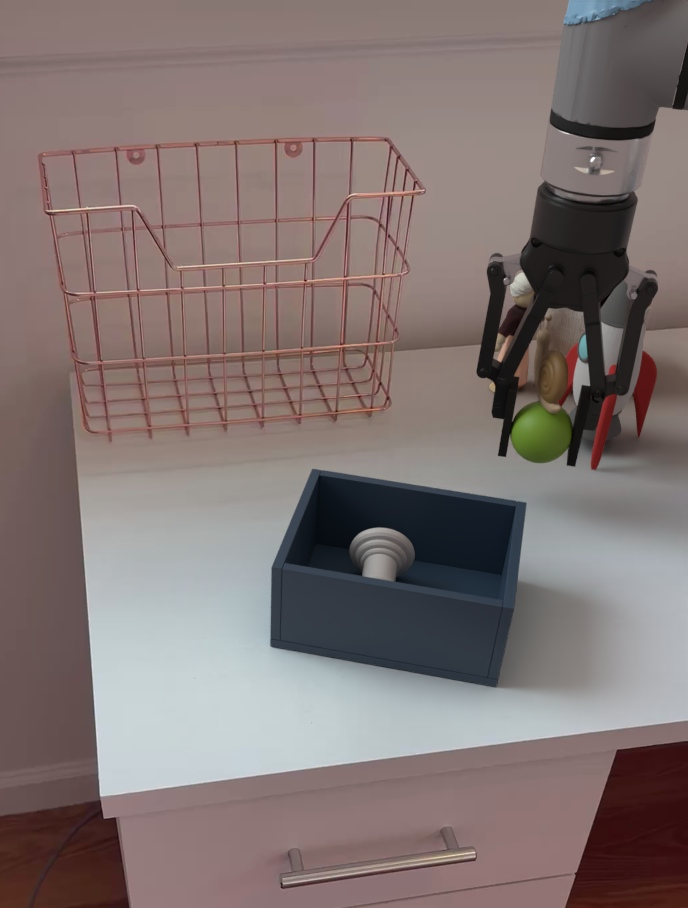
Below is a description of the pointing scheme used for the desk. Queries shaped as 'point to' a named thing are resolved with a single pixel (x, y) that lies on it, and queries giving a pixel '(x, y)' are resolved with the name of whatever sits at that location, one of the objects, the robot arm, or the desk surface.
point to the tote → (399, 578)
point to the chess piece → (382, 553)
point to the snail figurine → (544, 407)
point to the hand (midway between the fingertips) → (537, 453)
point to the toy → (640, 381)
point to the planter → (573, 327)
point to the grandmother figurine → (515, 325)
